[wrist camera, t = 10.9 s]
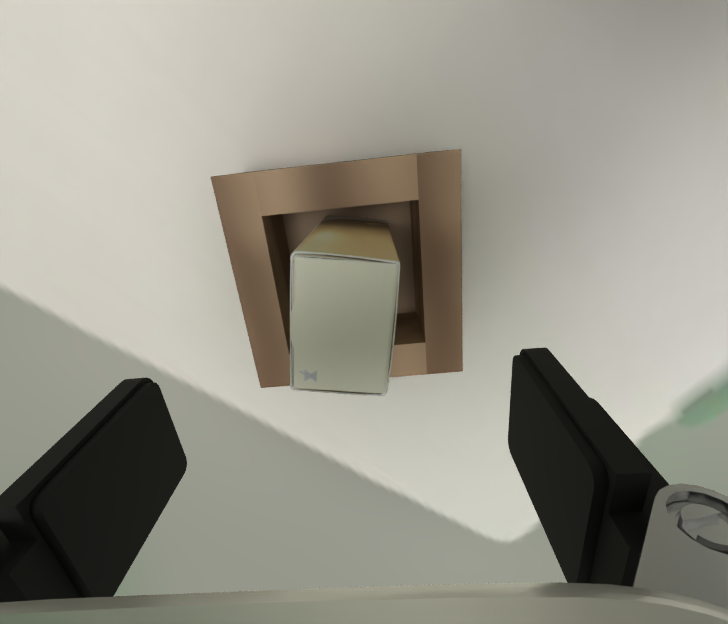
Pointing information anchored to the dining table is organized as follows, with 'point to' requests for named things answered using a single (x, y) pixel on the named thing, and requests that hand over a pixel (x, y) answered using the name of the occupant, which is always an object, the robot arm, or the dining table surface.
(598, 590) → the robot arm
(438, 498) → the dining table surface
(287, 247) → the socket block
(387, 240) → the skincare box
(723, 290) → the dining table surface
